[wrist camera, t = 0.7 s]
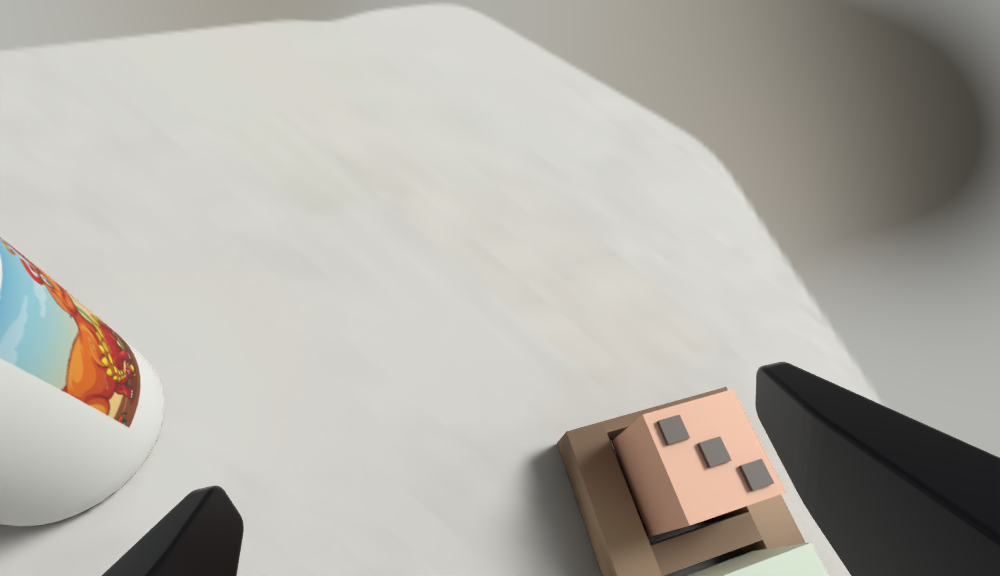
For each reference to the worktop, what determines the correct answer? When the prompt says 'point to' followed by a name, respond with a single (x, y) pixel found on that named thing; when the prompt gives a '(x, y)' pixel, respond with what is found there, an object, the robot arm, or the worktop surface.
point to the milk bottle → (65, 400)
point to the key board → (616, 523)
